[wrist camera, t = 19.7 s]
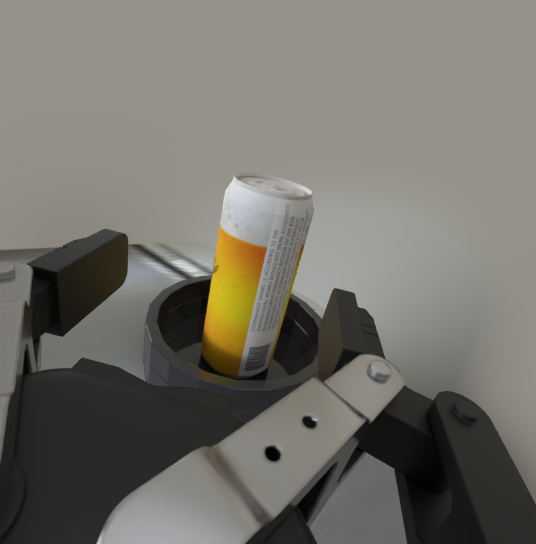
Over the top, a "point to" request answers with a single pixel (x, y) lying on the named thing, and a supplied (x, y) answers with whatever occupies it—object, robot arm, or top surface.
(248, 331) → the beer can
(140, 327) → the top surface
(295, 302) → the dark grey bowl
